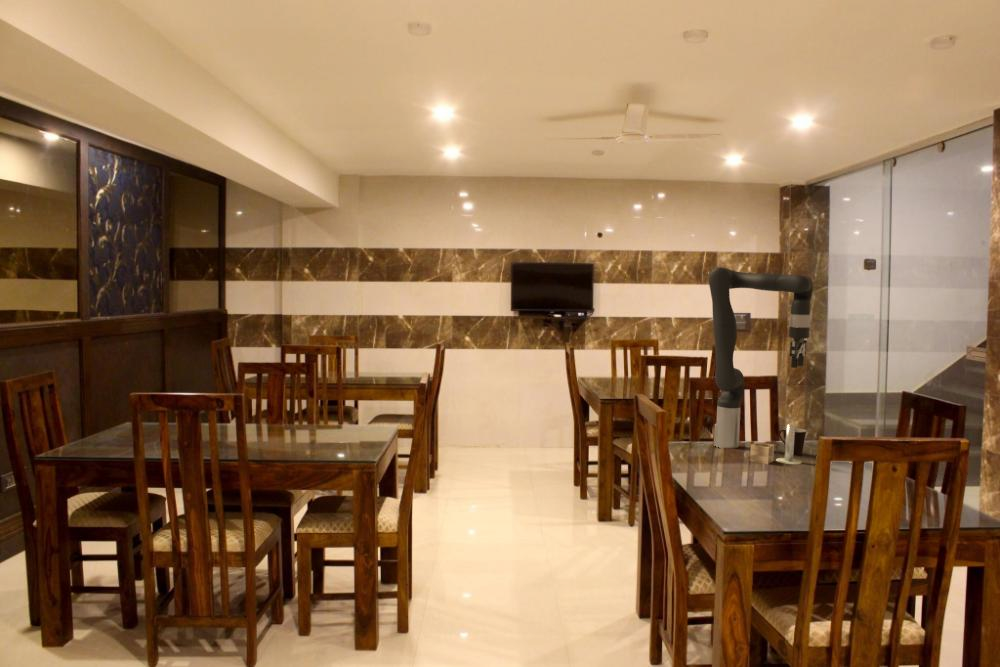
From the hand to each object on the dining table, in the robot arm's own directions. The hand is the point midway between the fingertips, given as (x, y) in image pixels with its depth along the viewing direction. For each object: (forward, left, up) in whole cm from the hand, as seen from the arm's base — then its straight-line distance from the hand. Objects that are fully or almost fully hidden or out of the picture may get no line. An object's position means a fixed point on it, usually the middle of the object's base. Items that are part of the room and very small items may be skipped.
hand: (797, 366), depth 284 cm
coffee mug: (-2, +6, -36) cm, 37 cm away
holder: (-6, -20, -36) cm, 41 cm away
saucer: (+2, -12, -36) cm, 38 cm away
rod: (+2, -12, -35) cm, 37 cm away
